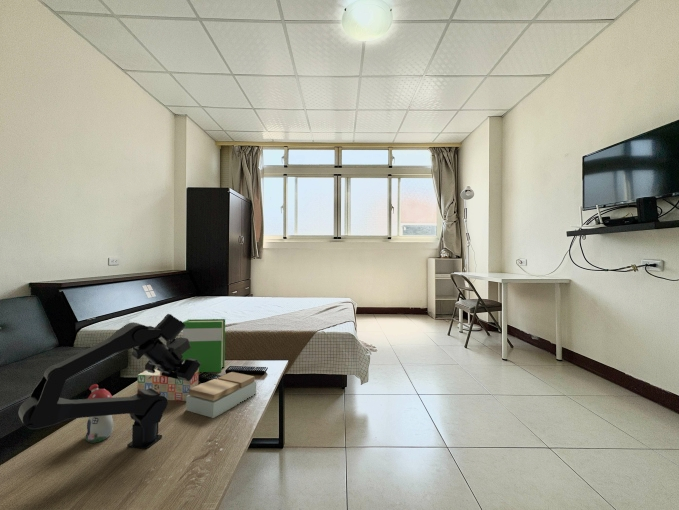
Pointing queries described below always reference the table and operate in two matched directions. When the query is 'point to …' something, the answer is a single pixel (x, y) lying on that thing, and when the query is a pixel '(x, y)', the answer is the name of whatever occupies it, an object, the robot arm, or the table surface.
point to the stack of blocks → (167, 384)
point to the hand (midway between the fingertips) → (186, 379)
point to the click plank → (213, 389)
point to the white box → (226, 402)
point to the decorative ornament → (99, 419)
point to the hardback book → (206, 343)
